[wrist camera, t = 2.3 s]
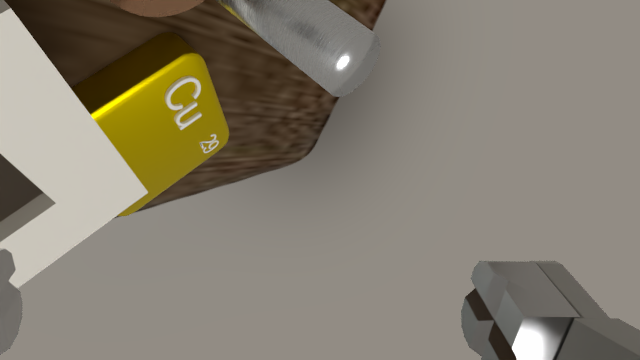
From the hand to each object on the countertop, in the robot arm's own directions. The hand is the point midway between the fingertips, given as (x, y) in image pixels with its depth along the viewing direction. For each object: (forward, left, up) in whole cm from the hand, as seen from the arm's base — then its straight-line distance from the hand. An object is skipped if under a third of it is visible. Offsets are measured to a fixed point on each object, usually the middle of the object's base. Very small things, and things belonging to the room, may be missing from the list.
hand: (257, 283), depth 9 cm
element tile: (+31, +4, -34) cm, 46 cm away
